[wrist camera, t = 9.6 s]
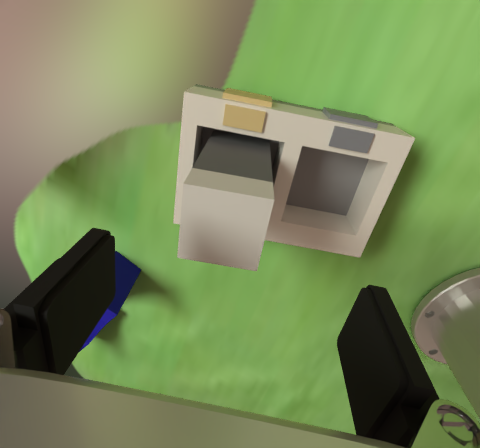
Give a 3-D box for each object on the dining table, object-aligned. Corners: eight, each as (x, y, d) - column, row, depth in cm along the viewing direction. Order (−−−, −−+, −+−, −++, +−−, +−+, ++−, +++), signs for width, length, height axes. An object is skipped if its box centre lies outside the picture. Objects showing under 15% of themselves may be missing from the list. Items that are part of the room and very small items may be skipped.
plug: (269, 139, 22) (274, 199, 14) (258, 190, 24) (256, 271, 16) (214, 129, 22) (183, 183, 13) (207, 181, 24) (177, 257, 15)
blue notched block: (89, 332, 35) (59, 381, 30) (54, 310, 34) (16, 357, 29) (153, 278, 31) (131, 325, 26) (116, 249, 29) (85, 293, 24)
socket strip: (392, 119, 22) (419, 133, 18) (347, 229, 27) (360, 259, 23) (197, 79, 21) (183, 86, 18) (185, 199, 26) (172, 224, 22)
